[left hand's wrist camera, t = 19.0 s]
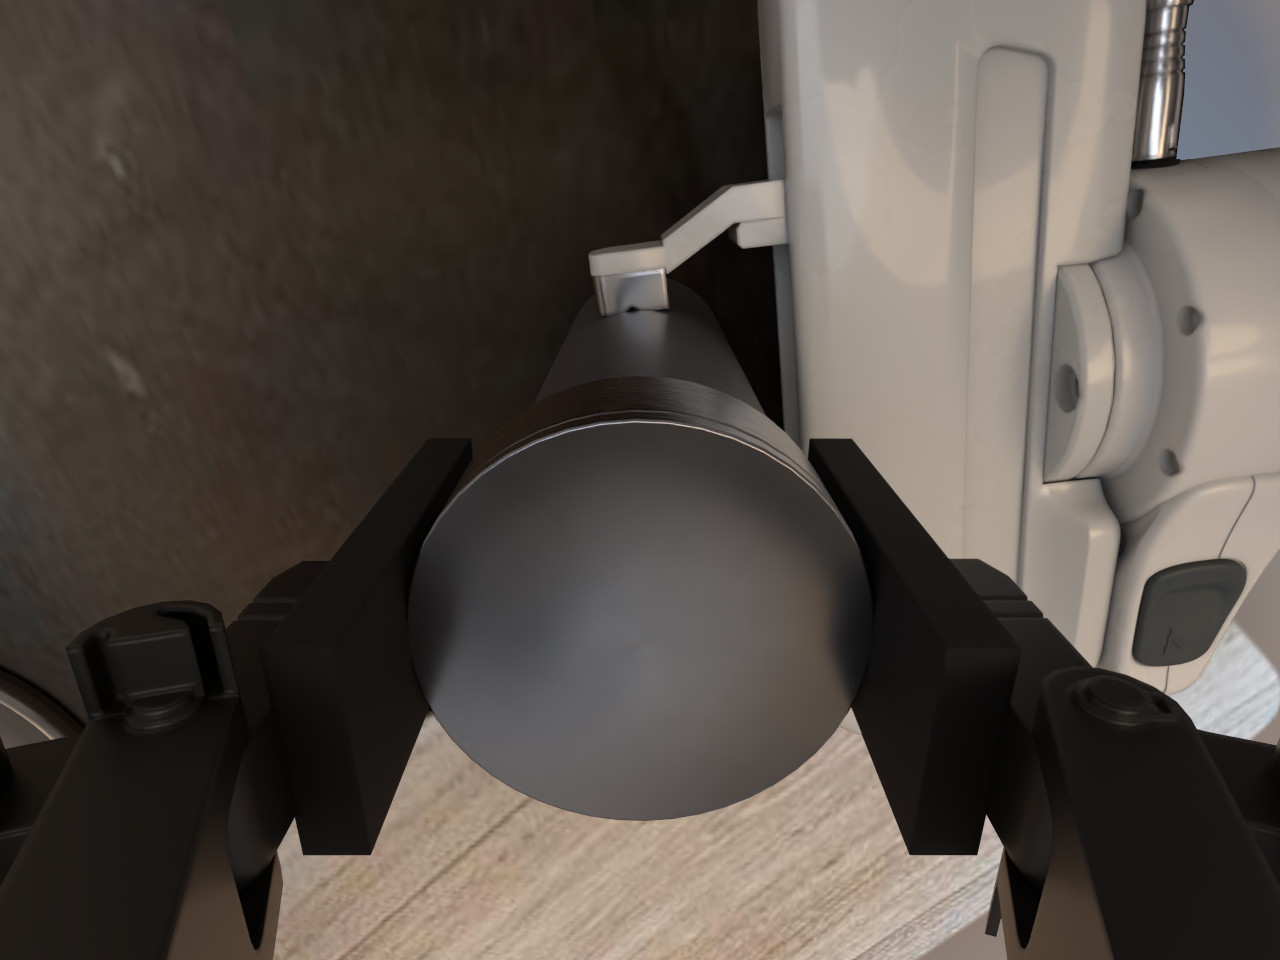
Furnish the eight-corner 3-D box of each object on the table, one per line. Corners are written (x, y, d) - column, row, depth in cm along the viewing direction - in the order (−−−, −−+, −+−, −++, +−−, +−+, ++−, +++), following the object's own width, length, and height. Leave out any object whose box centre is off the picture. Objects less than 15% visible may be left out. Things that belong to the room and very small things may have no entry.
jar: (697, 251, 25) (781, 370, 10) (742, 402, 27) (873, 701, 11) (543, 305, 25) (396, 495, 10) (598, 449, 27) (542, 789, 12)
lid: (550, 768, 13) (535, 871, 11) (369, 471, 11) (312, 535, 9) (885, 650, 12) (931, 739, 10) (754, 304, 10) (781, 335, 8)
